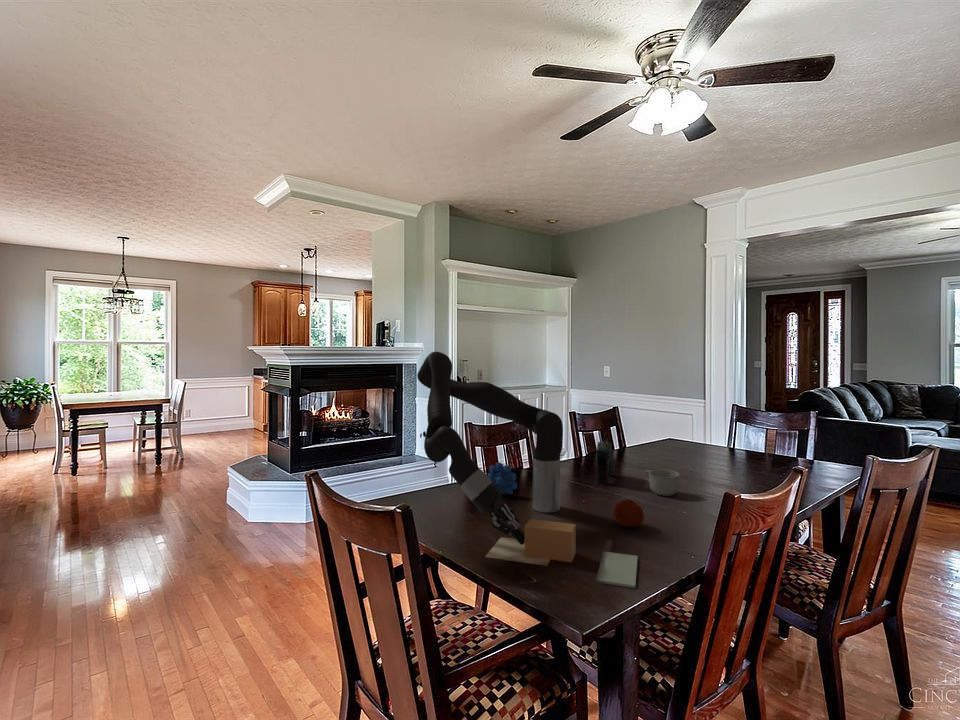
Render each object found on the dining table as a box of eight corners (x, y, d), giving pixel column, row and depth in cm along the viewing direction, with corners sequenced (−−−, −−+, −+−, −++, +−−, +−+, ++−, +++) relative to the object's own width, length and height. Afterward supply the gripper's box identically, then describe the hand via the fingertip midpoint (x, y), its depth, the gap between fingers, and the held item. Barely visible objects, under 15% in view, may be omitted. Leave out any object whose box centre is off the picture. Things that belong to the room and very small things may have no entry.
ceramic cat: (609, 486, 194) (609, 436, 194) (592, 485, 197) (592, 435, 196) (614, 474, 213) (615, 428, 212) (599, 473, 215) (599, 427, 215)
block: (530, 546, 131) (530, 518, 131) (575, 553, 127) (575, 524, 127) (524, 555, 125) (524, 526, 125) (571, 562, 121) (571, 532, 121)
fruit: (607, 523, 153) (607, 497, 153) (630, 519, 156) (630, 494, 156) (625, 533, 145) (625, 506, 145) (649, 529, 148) (649, 502, 148)
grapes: (483, 496, 182) (483, 463, 181) (489, 491, 188) (489, 460, 188) (514, 499, 178) (514, 466, 178) (519, 494, 184) (519, 462, 184)
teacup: (685, 496, 181) (686, 474, 181) (662, 499, 177) (662, 477, 177) (659, 486, 194) (659, 466, 194) (637, 489, 190) (637, 468, 190)
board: (501, 542, 138) (501, 536, 138) (557, 549, 133) (557, 544, 133) (485, 562, 125) (485, 556, 125) (547, 571, 120) (547, 565, 120)
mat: (560, 547, 134) (560, 545, 134) (637, 558, 127) (637, 555, 127) (548, 574, 118) (548, 572, 118) (635, 588, 111) (635, 585, 111)
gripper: (480, 492, 139) (521, 541, 135) (462, 506, 127) (508, 560, 123) (498, 475, 137) (540, 524, 133) (482, 488, 125) (529, 543, 121)
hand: (525, 541), depth 128 cm, fingers closed
